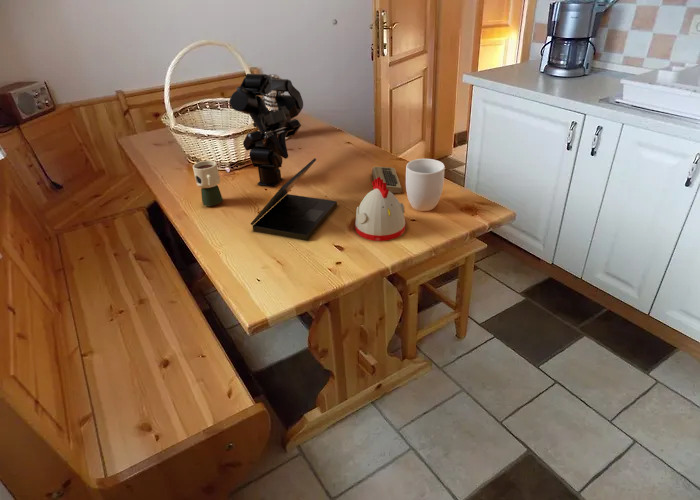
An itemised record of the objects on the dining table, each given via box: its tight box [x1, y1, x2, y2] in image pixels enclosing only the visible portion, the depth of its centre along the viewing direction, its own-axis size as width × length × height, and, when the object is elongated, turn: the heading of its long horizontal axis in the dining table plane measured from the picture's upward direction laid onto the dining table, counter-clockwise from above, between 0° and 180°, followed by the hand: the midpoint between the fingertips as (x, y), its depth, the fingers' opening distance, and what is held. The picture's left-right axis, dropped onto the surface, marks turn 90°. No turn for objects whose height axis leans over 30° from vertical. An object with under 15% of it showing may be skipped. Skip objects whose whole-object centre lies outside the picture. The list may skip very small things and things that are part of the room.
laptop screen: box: [250, 157, 317, 226], centre depth 135 cm, size 17×21×1 cm
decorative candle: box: [261, 73, 289, 140], centre depth 192 cm, size 9×9×25 cm
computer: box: [371, 166, 403, 194], centre depth 155 cm, size 16×8×3 cm, turn 3°
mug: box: [405, 158, 446, 212], centre depth 140 cm, size 15×11×13 cm
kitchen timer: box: [354, 177, 406, 242], centre depth 128 cm, size 14×14×15 cm
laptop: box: [251, 193, 338, 242], centre depth 138 cm, size 17×21×2 cm
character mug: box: [192, 159, 224, 207], centre depth 145 cm, size 11×7×13 cm, turn 25°
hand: (286, 157), depth 143 cm, fingers closed
